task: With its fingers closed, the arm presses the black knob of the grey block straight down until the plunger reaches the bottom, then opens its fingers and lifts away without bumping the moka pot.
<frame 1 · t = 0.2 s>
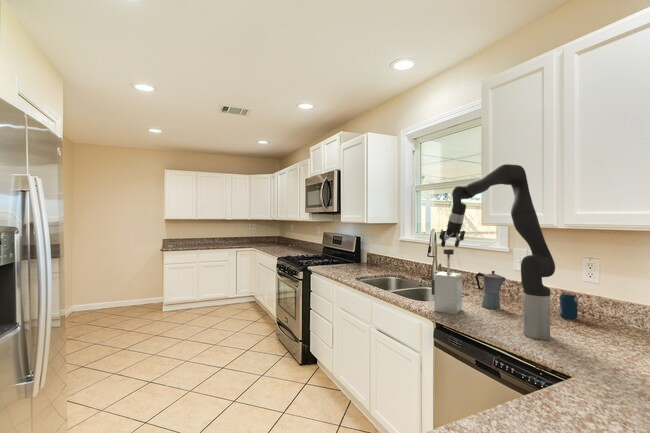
hand: (449, 246, 186), 32 cm above the counter, tool tilted 20°, fingers open, 8 cm apart
grey block: (448, 310, 167), on the counter
moka pot: (490, 307, 174), on the counter
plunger: (448, 268, 167), point 22 cm above the counter, slide at 10.0 cm
soda can: (568, 318, 155), on the counter
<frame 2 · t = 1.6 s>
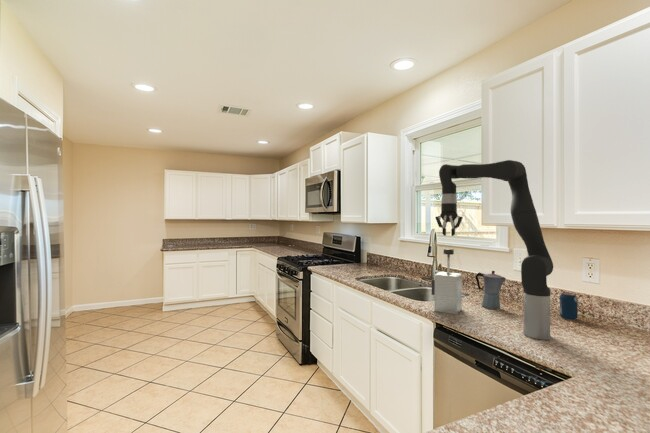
hand: (448, 235, 167), 39 cm above the counter, tool pointing down, fingers open, 3 cm apart
nothing on the counter moved.
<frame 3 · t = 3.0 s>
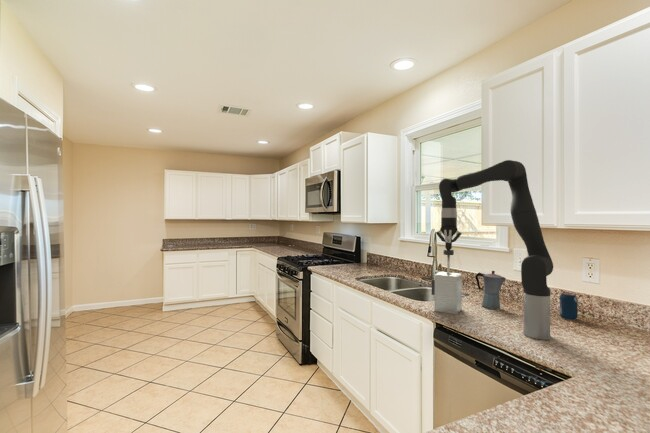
hand: (448, 249, 167), 32 cm above the counter, tool pointing down, fingers closed
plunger: (448, 269, 167), point 21 cm above the counter, slide at 9.7 cm, touching gripper
everything else where it was.
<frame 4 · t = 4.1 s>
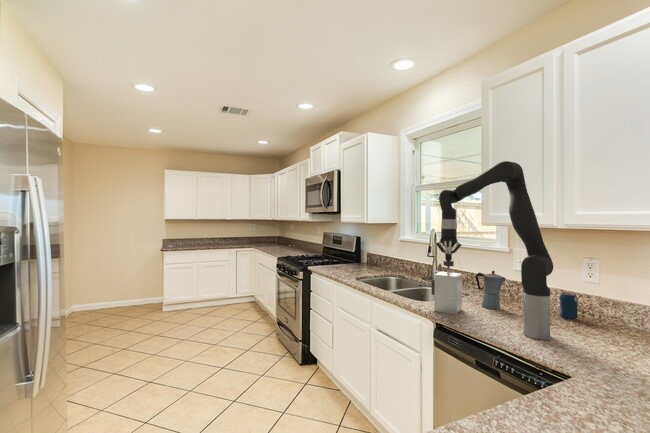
hand: (448, 260, 167), 26 cm above the counter, tool pointing down, fingers closed
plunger: (448, 280, 167), point 16 cm above the counter, slide at 3.9 cm, touching gripper
everything else where it was.
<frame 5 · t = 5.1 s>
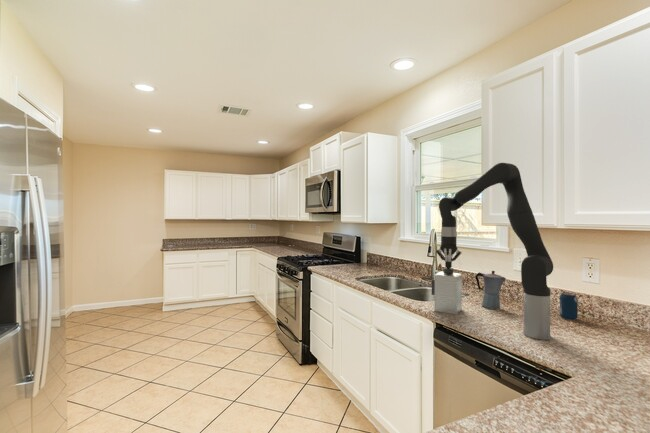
hand: (448, 268, 167), 22 cm above the counter, tool pointing down, fingers closed
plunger: (448, 288, 167), point 12 cm above the counter, slide at -0.1 cm, touching gripper
everything else where it was.
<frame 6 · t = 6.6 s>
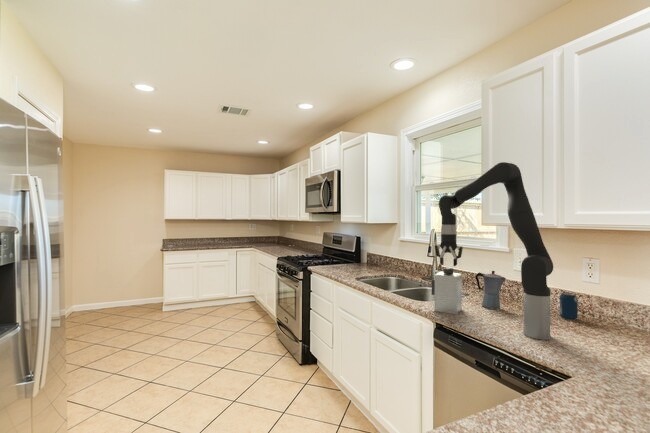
hand: (448, 265, 167), 24 cm above the counter, tool pointing down, fingers open, 5 cm apart
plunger: (448, 288, 167), point 12 cm above the counter, slide at -0.1 cm
everything else where it was.
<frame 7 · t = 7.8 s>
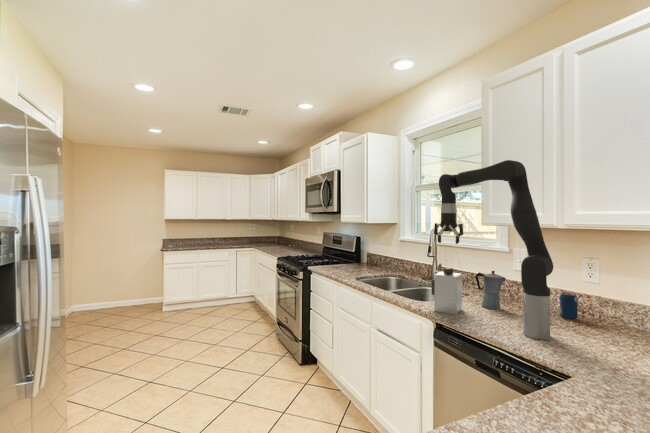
hand: (448, 243, 167), 35 cm above the counter, tool pointing down, fingers open, 8 cm apart
nothing on the counter moved.
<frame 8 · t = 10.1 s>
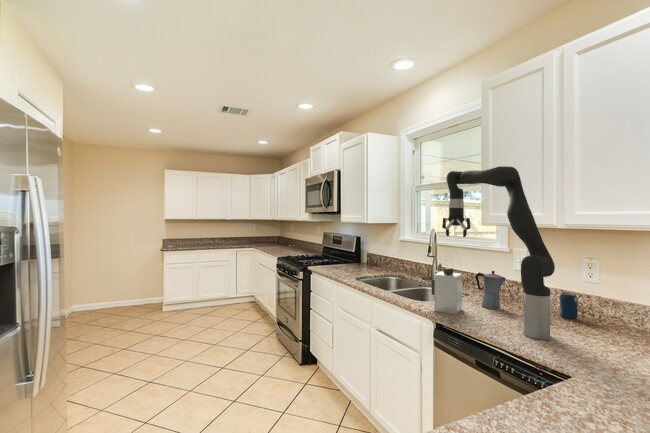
hand: (456, 236, 177), 38 cm above the counter, tool pointing down, fingers open, 8 cm apart
nothing on the counter moved.
at the end: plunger slide at -0.1 cm; the gripper is holding nothing; moka pot moved 0.2 cm from its start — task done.
